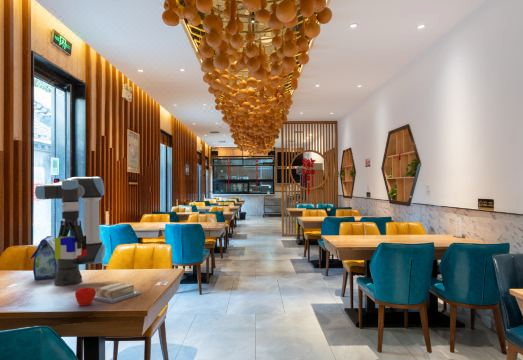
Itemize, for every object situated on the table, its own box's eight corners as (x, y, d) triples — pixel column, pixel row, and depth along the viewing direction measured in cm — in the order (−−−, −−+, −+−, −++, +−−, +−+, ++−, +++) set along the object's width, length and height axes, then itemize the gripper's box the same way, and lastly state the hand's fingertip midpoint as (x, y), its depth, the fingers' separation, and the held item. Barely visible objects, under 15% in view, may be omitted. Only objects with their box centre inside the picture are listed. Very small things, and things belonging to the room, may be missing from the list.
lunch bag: (36, 274, 257) (36, 236, 258) (63, 272, 263) (63, 234, 263) (29, 281, 236) (28, 239, 237) (59, 278, 242) (58, 238, 243)
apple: (98, 301, 188) (98, 286, 188) (91, 307, 179) (90, 290, 179) (80, 302, 188) (80, 286, 188) (71, 307, 179) (71, 291, 179)
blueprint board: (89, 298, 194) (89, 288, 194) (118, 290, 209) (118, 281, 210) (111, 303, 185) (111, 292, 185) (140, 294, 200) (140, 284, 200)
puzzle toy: (72, 259, 181) (72, 238, 181) (54, 258, 183) (54, 238, 184) (86, 255, 191) (86, 235, 191) (69, 255, 193) (69, 235, 193)
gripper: (49, 210, 191) (50, 253, 190) (77, 211, 178) (77, 257, 178) (64, 210, 197) (64, 251, 197) (91, 210, 184) (92, 254, 184)
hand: (71, 254), depth 187 cm, fingers closed on puzzle toy, 12 cm apart
